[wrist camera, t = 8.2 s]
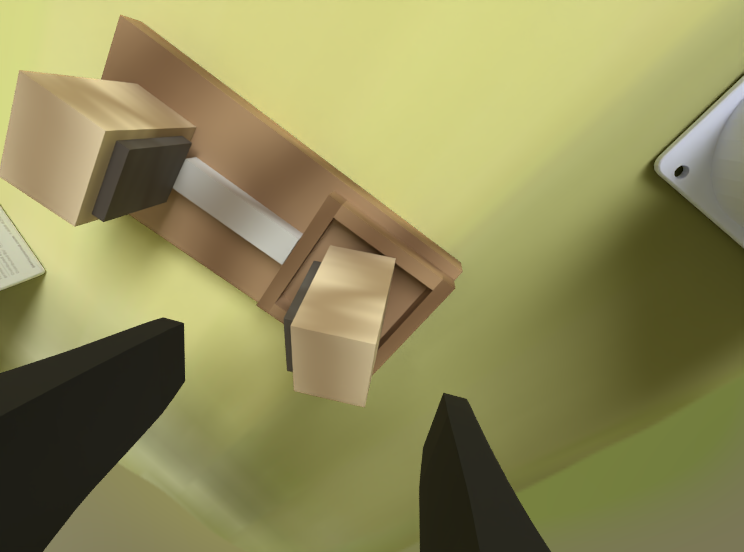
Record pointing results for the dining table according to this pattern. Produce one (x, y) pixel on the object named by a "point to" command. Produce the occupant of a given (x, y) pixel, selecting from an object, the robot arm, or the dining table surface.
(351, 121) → the dining table surface
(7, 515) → the robot arm
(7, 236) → the supplement box
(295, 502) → the dining table surface
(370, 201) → the rail base
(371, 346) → the block
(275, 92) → the dining table surface
